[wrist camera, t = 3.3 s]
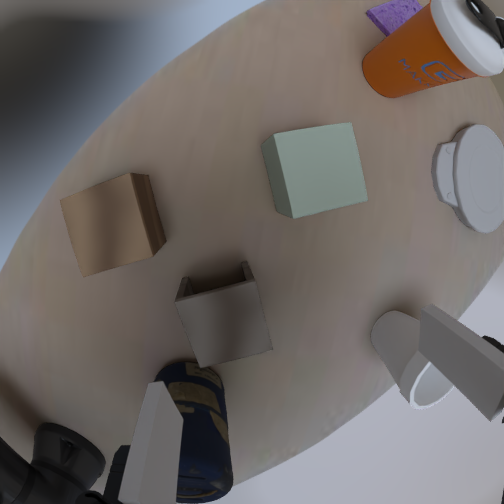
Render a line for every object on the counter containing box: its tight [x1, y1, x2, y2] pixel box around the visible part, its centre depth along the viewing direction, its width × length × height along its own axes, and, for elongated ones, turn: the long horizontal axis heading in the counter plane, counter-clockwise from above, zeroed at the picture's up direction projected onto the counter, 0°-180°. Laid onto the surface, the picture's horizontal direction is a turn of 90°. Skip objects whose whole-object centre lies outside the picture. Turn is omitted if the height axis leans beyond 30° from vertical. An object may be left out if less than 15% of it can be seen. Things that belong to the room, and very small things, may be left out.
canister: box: [154, 362, 233, 504], centre depth 26 cm, size 10×10×18 cm
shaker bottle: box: [363, 0, 504, 98], centre depth 19 cm, size 9×9×20 cm
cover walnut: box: [60, 173, 166, 277], centre depth 26 cm, size 8×8×7 cm
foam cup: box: [371, 310, 455, 410], centre depth 31 cm, size 10×9×13 cm
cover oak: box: [175, 261, 273, 368], centre depth 29 cm, size 8×8×7 cm
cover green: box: [261, 122, 368, 219], centre depth 27 cm, size 8×8×7 cm
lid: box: [431, 124, 504, 234], centre depth 33 cm, size 17×20×3 cm
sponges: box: [366, 0, 423, 37], centre depth 26 cm, size 7×13×2 cm, turn 131°
